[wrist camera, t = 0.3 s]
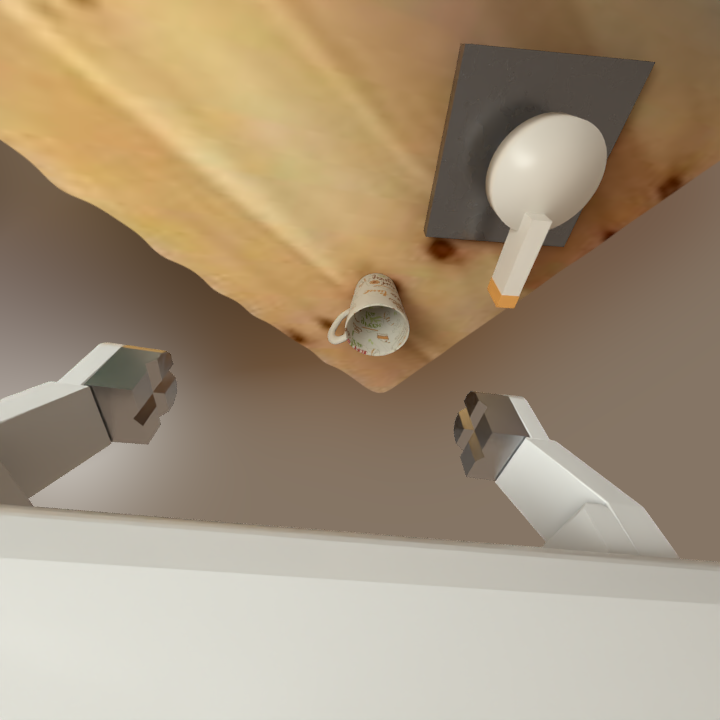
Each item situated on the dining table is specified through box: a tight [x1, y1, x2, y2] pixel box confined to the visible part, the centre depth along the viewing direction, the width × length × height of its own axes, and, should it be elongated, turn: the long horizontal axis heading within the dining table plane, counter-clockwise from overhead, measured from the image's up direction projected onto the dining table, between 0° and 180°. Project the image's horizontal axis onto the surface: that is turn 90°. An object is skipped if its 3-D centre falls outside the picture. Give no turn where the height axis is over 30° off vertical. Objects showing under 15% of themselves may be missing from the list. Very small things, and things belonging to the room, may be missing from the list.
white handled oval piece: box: [486, 112, 607, 308], centre depth 35 cm, size 18×10×5 cm, turn 176°
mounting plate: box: [424, 44, 655, 247], centre depth 37 cm, size 18×18×6 cm
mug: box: [328, 273, 410, 356], centre depth 48 cm, size 8×13×10 cm, turn 126°
